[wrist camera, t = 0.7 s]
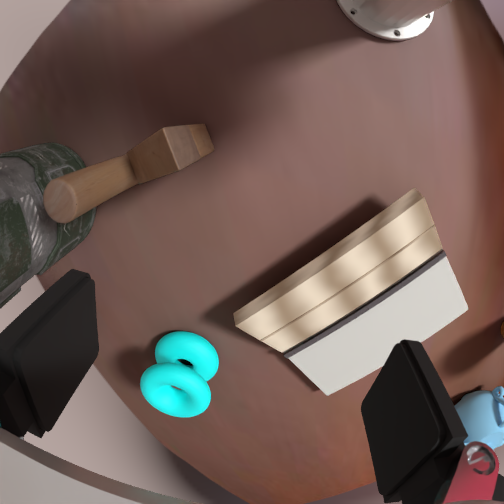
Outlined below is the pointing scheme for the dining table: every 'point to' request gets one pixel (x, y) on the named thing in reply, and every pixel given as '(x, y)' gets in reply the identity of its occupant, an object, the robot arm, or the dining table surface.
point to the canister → (34, 215)
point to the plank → (344, 275)
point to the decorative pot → (483, 416)
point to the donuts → (180, 375)
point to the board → (381, 326)
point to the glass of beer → (502, 329)
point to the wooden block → (126, 171)
